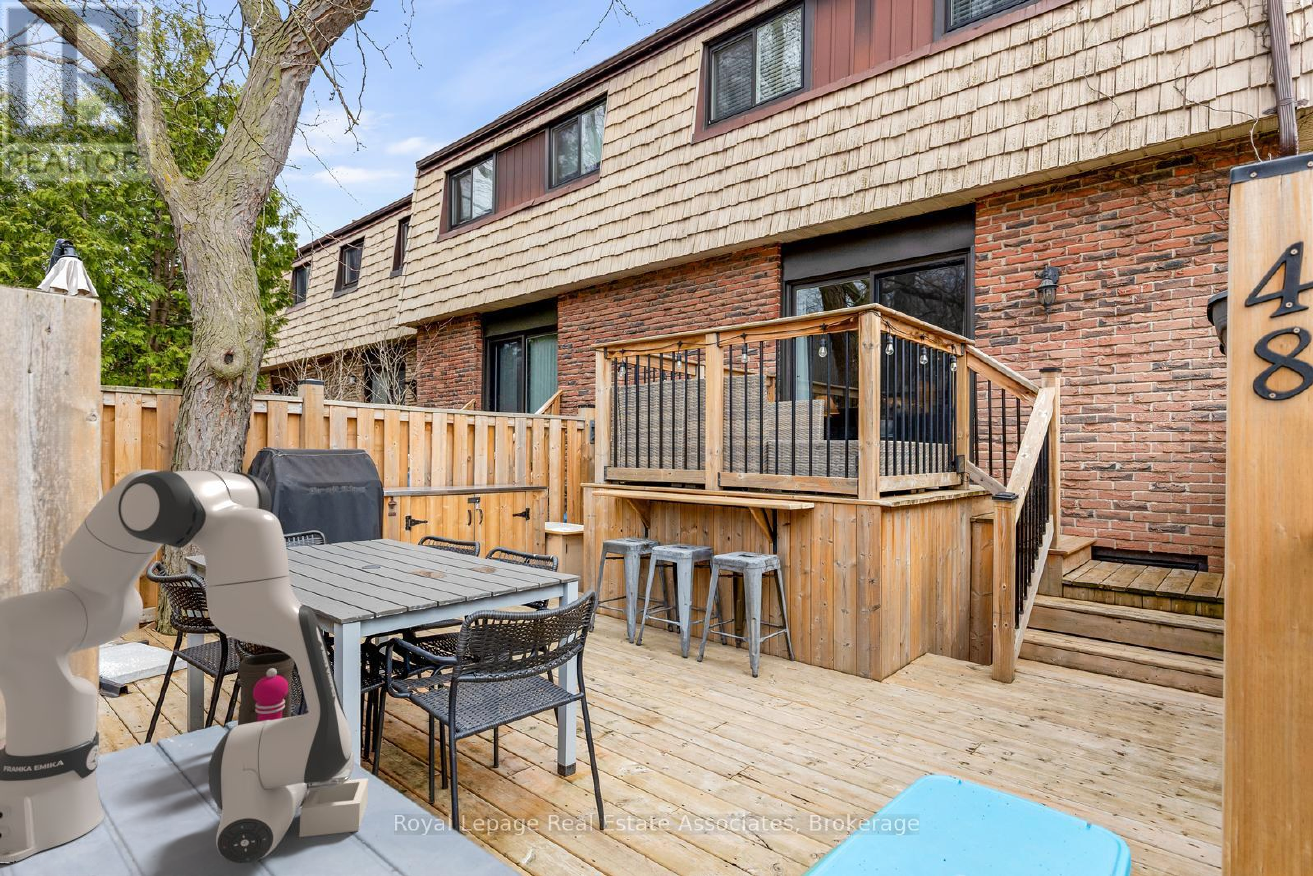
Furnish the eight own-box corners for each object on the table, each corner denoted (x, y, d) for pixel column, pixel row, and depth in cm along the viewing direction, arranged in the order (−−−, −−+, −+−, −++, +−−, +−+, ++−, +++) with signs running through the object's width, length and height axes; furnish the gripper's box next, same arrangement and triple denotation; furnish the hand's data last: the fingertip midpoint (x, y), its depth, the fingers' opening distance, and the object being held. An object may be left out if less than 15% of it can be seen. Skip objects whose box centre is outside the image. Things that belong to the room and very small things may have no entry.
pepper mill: (269, 783, 127) (273, 675, 128) (236, 779, 129) (241, 672, 129) (297, 766, 134) (301, 664, 135) (265, 762, 136) (269, 661, 136)
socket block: (299, 837, 110) (300, 809, 110) (312, 809, 118) (313, 783, 118) (358, 830, 112) (359, 803, 112) (367, 804, 121) (368, 778, 121)
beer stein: (301, 756, 139) (303, 656, 140) (242, 772, 131) (245, 666, 133) (276, 738, 149) (278, 646, 151) (220, 753, 141) (222, 655, 143)
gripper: (347, 763, 112) (361, 730, 125) (207, 774, 107) (237, 738, 120) (346, 801, 112) (360, 764, 125) (205, 815, 107) (236, 774, 120)
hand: (299, 752), depth 123 cm, fingers open, 8 cm apart
